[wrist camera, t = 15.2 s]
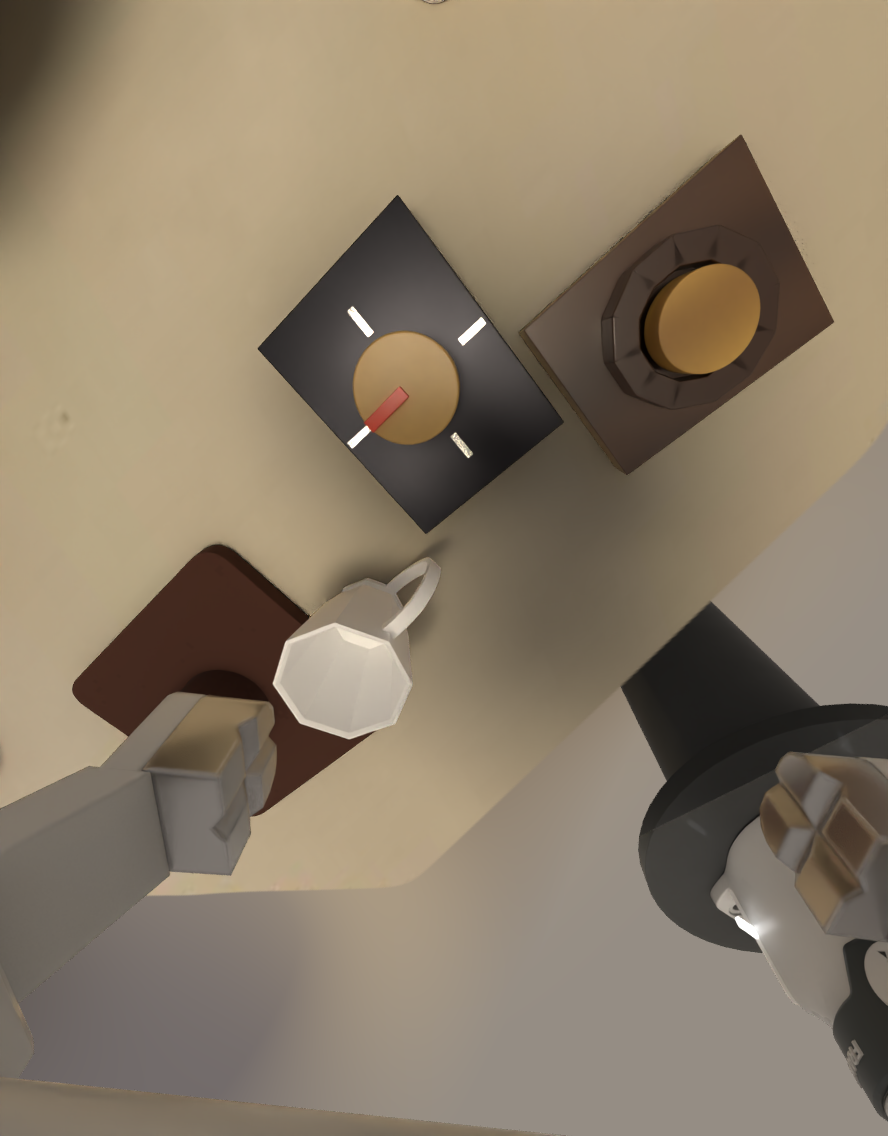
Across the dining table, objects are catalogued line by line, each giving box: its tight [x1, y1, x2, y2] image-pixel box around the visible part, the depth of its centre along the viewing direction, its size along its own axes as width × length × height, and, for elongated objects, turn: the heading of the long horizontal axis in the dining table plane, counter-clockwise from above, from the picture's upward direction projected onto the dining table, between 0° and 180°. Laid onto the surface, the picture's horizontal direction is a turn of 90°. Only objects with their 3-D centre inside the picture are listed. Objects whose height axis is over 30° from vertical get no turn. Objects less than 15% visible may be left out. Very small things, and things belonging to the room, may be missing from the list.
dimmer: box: [258, 195, 564, 534], centre depth 24 cm, size 12×9×3 cm
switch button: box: [644, 264, 760, 374], centre depth 20 cm, size 4×4×2 cm
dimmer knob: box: [353, 331, 460, 445], centre depth 21 cm, size 4×4×4 cm
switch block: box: [519, 135, 834, 475], centre depth 22 cm, size 9×11×4 cm
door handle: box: [72, 545, 375, 816], centre depth 31 cm, size 16×7×20 cm
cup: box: [273, 557, 441, 739], centre depth 27 cm, size 7×10×8 cm
